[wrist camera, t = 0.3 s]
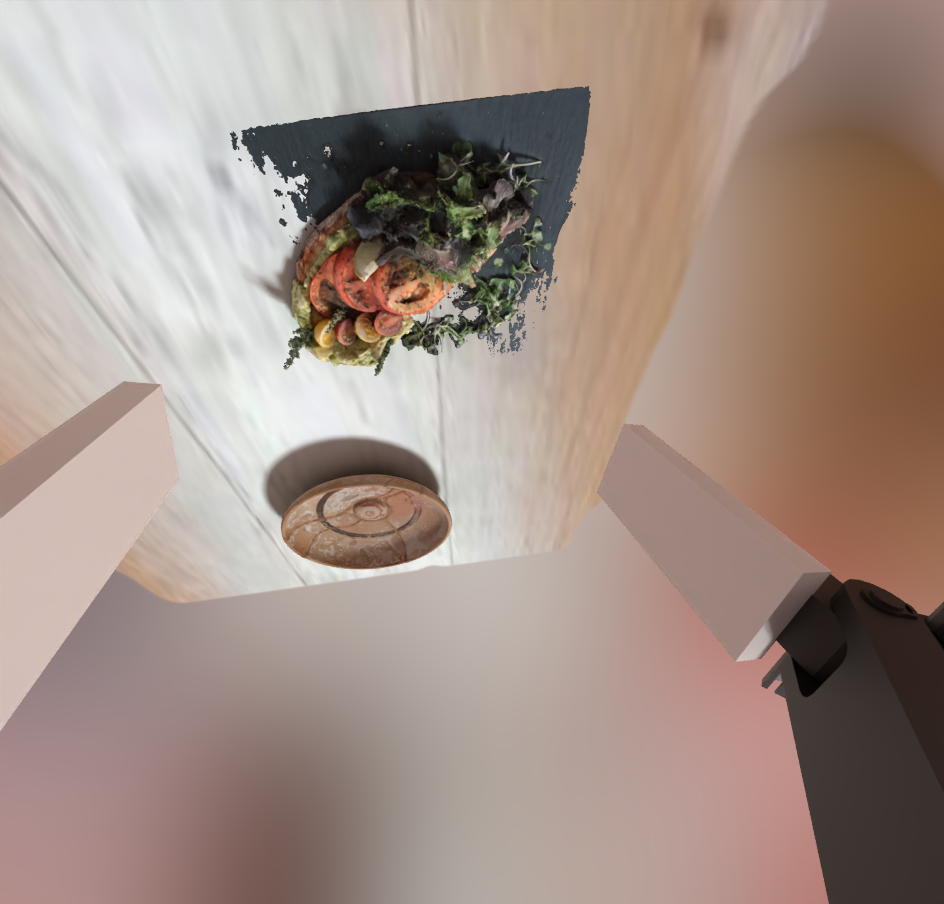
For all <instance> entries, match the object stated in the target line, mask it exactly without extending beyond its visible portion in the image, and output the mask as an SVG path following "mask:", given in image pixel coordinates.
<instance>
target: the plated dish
mask: <svg viewBox="0 0 944 904" xmlns="http://www.w3.org/2000/svg"><path fill="white" fill-rule="evenodd" d="M590 93H591V92H590V91H589V86H587V87H585V88H583V87H575V88H571V89H568V88H566V89H556V90H554V89H553V90H551V91H547V92H545V91H540V92H534V93H532V92H531V93H529V94H528V93H524V94H523V93H522V94H515V95H512V96H510V95H504V96H503V95H502V96H495V97H486V98H480V99H478V98H477V99H471V100H464V101H454V102H445V103H444V102H443V103H439V104H438V103H436V104H428V105H419V106H412V107H404V108H396V109H395V108H393V109H386V110H380V111H379V110H376V111H375V112H374V111H370V112H369V113H368V112H361V113H356V114H355V113H354V114H350V115H340V116H339V115H338V116H334V117H324V118H322V119H320V118H314V119H310V120H301V121H298V122H293V123H288V124H287V123H285V124H283V125H279V124H278V123H277V124H278V125H277V124H276V125H271V126H266V127H262V126H258V127H256V128H252V127H250V128H249V129H248V130H242V131H241V132H243V133H242V134H243V135H242V137H243V140H241V142H242V144H243V145H244V146H247V150H248V151H249V154H251V155H252V156H253V161H254V162H255V164H256V165H257V166H259V167H258V168H259V170H260V171H261V172H262V173H263V174H264V175H265V171H263V168H262V166H263V167H264V164H265V162H264V159H263V158H262V156H263V157H264V156H266V155H268V157H269V158H270V159H271V161H272V162H273V164H274V165H277V166H274V169H275V170H278V171H279V172H280V173H281V174H282V176H281V178H283V177H284V179H285V183H288V182H287V180H288V177H287V176H289V177H292V178H293V179H294V178H295V177H297V176H301V175H302V174H304V175H305V177H306V178H307V179H309V178H310V179H309V180H308V181H309V182H308V183H307V181H306V179H305V183H304V184H305V186H303V185H299V184H297V183H296V182H295V183H296V185H297V187H298V190H299V189H302V190H300V191H301V193H302V195H304V196H305V197H306V199H304V198H305V197H304V198H303V199H304V200H303V202H301V198H299V195H300V194H299V193H298V192H297V193H298V195H297V194H296V191H295V190H294V191H295V192H293V191H291V193H290V191H287V194H288V195H291V200H292V202H293V204H294V208H296V210H297V214H298V216H297V217H298V218H299V219H300V220H301V221H303V222H307V217H306V216H309V217H310V218H311V217H313V218H315V219H318V220H316V222H317V223H316V222H315V223H316V225H318V226H317V227H314V228H315V231H314V232H313V233H312V234H311V235H310V236H309V238H308V239H307V240H306V246H305V249H303V250H302V253H301V255H300V258H299V260H298V261H297V262H296V273H297V277H296V278H295V279H294V280H293V281H292V284H293V286H292V290H291V293H292V295H291V297H292V299H291V303H292V306H291V308H292V312H293V316H294V318H295V319H296V320H297V321H298V324H299V325H300V328H299V329H297V331H293V334H295V332H296V333H297V334H298V333H299V334H300V337H301V338H300V337H297V336H295V337H294V339H292V338H290V339H291V340H290V341H288V342H289V343H288V346H289V347H291V346H292V348H295V349H293V350H292V349H291V350H290V352H289V355H291V356H290V357H292V360H291V358H289V359H287V362H286V363H284V364H287V365H289V366H288V367H287V366H286V365H284V366H283V367H284V369H285V370H286V369H288V368H289V367H290V365H292V363H293V359H294V358H295V357H296V358H300V356H299V355H300V354H299V352H298V351H299V350H300V348H302V345H303V346H305V348H306V350H308V351H309V352H311V353H312V354H313V355H314V356H315V357H316V358H317V359H318V360H321V361H323V362H329V361H330V362H332V363H334V366H338V364H344V365H351V366H355V365H359V366H367V367H368V366H373V365H376V364H377V366H376V367H377V369H376V368H375V372H376V373H375V376H377V375H378V374H379V372H381V368H382V367H383V364H384V363H383V361H384V360H385V357H387V356H388V355H387V354H389V351H390V348H389V347H390V345H393V344H396V343H397V342H398V340H399V339H400V338H401V336H403V337H402V338H401V340H402V342H403V346H404V347H407V349H408V351H410V350H412V349H413V348H414V347H415V346H418V347H419V346H423V348H424V350H426V348H427V352H428V353H430V354H433V355H438V351H437V348H434V347H435V345H438V342H439V339H440V341H441V345H442V350H443V337H444V332H445V333H449V336H450V338H451V340H453V341H454V343H455V347H456V348H459V347H461V345H462V344H464V337H465V336H466V334H469V333H472V334H473V333H475V332H477V333H478V338H479V339H484V336H487V335H488V336H489V335H490V341H491V339H492V342H493V346H494V347H495V342H496V340H498V338H497V339H495V338H494V336H495V337H496V336H498V337H499V336H502V335H503V334H502V333H500V334H499V333H497V334H495V332H494V331H495V328H496V327H498V326H499V325H501V323H502V322H503V321H510V320H511V318H512V317H513V315H514V314H515V313H516V312H515V311H517V312H518V309H517V307H518V305H519V302H521V303H524V304H525V302H522V301H526V300H525V299H526V298H527V296H528V295H527V294H528V293H530V292H529V291H530V290H532V289H531V288H533V289H536V288H538V287H537V286H538V285H539V282H538V280H539V278H540V277H541V278H543V275H544V274H543V273H544V272H545V271H547V272H546V275H547V276H549V279H548V278H547V279H546V281H547V282H544V284H546V289H547V290H548V287H549V286H550V285H549V284H550V283H551V280H552V278H551V276H552V270H553V263H554V259H553V256H552V254H553V252H554V246H555V245H556V242H557V238H558V235H559V232H560V230H561V227H562V226H563V224H564V223H565V221H566V219H567V217H568V215H569V214H568V213H567V212H570V211H571V208H572V205H573V203H572V201H571V202H570V203H569V200H570V199H571V198H572V197H571V196H570V193H571V192H572V191H573V188H574V187H575V184H576V183H577V182H576V178H577V177H578V176H577V172H578V173H579V174H580V169H579V170H578V168H579V166H580V163H581V161H582V158H581V156H583V155H584V149H585V143H584V142H585V137H586V133H587V124H588V116H589V107H590V103H589V99H590V97H591V96H590ZM247 133H248V135H247ZM252 133H255V135H254V134H252ZM230 135H231V137H232V139H233V140H231V141H232V145H233V149H234V150H236V149H237V147H238V146H236V143H237V139H238V137H237V138H234V137H235V136H237V135H236V134H235V133H234V132H233V133H230ZM250 139H251V140H250ZM380 141H381V142H383V143H384V144H383V146H381V145H379V143H380ZM344 142H345V143H344ZM407 144H410V145H411V144H412V145H411V146H410V147H408V145H407ZM328 146H329V149H330V150H331V152H330V153H331V155H329V156H330V157H327V156H328V155H327V154H328V152H329V151H325V152H324V150H325V147H328ZM407 147H408V149H407ZM319 149H320V150H319ZM238 150H239V147H238ZM247 150H246V151H247ZM417 150H420V152H418V151H417ZM262 151H264V153H262ZM323 153H324V154H323ZM325 153H326V154H325ZM264 154H265V155H264ZM307 157H308V158H307ZM306 158H307V159H306ZM330 158H331V159H330ZM238 159H239V158H238ZM239 160H240V161H241V159H239ZM251 161H252V160H251ZM293 161H296V163H295V167H293V164H292V163H293ZM296 164H297V165H296ZM253 165H254V163H253ZM334 166H335V167H334ZM254 168H255V165H254ZM277 174H279V173H278V172H277ZM308 176H309V177H308ZM558 176H559V177H558ZM279 177H280V176H279ZM578 183H579V182H578ZM578 183H577V184H578ZM488 184H490V185H489V188H487V189H486V188H485V187H487V185H488ZM306 186H307V187H308V188H307V187H306ZM304 189H308V192H307V194H305V192H304ZM575 189H577V188H575ZM570 191H571V192H570ZM274 192H275V193H277V194H276V197H277V195H278V196H279V197H280V195H281V196H282V195H283V193H281V191H279V190H277V189H274ZM285 196H286V195H285ZM286 197H287V196H286ZM298 199H299V200H298ZM566 200H567V202H566ZM306 201H307V202H306ZM298 202H299V203H298ZM305 202H306V203H307V204H306V203H305ZM575 204H576V203H575ZM575 204H574V205H575ZM282 206H283V209H285V207H284V205H282ZM306 207H307V208H306ZM283 209H282V210H283ZM311 214H312V215H311ZM279 223H280V224H282V225H283V226H284V227H285V226H286V224H287V222H285V221H284V219H281V218H280V220H279ZM310 225H312V224H311V223H310ZM550 226H551V229H550ZM305 230H306V231H307V229H306V228H305ZM290 237H291V236H290ZM291 238H292V237H291ZM296 238H297V239H298V237H296ZM293 243H296V244H298V243H297V242H295V241H294V240H293ZM299 244H300V243H299ZM543 252H544V254H543ZM537 260H538V264H537ZM546 260H547V261H546ZM545 261H546V262H545ZM484 264H485V265H484ZM536 265H537V266H536ZM548 274H549V275H548ZM535 278H538V280H537V281H536V283H535V282H534V281H535ZM556 278H557V277H556ZM556 278H555V279H554V281H555V282H556V281H557V279H556ZM531 280H533V283H532V282H531ZM460 283H461V284H460ZM542 283H543V280H542V281H541V284H542ZM456 284H459V285H458V287H459V289H461V288H460V286H461V287H463V288H462V290H464V291H467V292H465V295H463V297H461V296H462V295H461V296H459V299H456V298H455V297H454V298H455V299H454V302H453V301H452V303H453V305H454V306H455V308H456V307H458V308H459V309H460V310H462V312H460V313H461V314H459V315H458V317H460V318H459V321H461V322H458V323H459V324H460V325H458V324H457V323H454V324H450V321H452V320H453V318H454V316H453V315H445V316H444V317H441V321H440V322H438V323H437V321H438V320H437V319H435V320H434V322H433V323H430V324H428V321H429V319H430V313H429V310H430V309H431V308H432V307H433V306H434V305H435V304H437V303H438V302H439V301H440V300H441V299H442V298H443V297H444V296H445V295H446V294H447V295H449V293H448V292H449V290H450V289H451V288H453V287H454V285H456ZM534 284H535V286H534ZM468 285H469V286H468ZM458 287H457V288H458ZM535 287H536V288H535ZM541 287H542V285H541V286H540V287H539V290H538V293H539V295H540V296H541V294H540V290H541ZM529 288H530V290H529ZM547 290H546V291H547ZM544 292H545V291H544ZM463 293H464V292H463ZM545 293H546V292H545ZM453 294H455V292H454V293H453ZM456 294H457V292H456ZM518 295H520V297H521V300H520V299H519V300H515V298H516V297H517V296H518ZM540 296H539V297H540ZM536 297H538V296H536ZM447 298H451V297H449V296H448V297H447ZM468 298H469V299H468ZM544 298H545V300H546V298H547V297H546V296H545V297H544ZM536 300H537V301H536V302H538V301H540V299H539V300H538V298H537V299H536ZM469 302H473V303H471V304H469ZM461 303H462V304H464V305H462V304H461ZM543 303H545V302H544V301H543ZM478 305H479V306H478ZM473 306H476V307H477V308H479V311H478V310H477V311H478V312H479V313H480V310H483V311H482V313H481V315H479V316H478V317H477V318H476V320H474V321H472V320H470V322H467V321H469V320H468V319H466V318H465V317H464V316H460V315H463V314H462V313H463V311H464V310H466V309H468V308H470V307H473ZM543 307H544V306H543ZM545 307H546V305H545ZM545 307H544V308H542V310H545ZM440 309H441V305H440ZM426 311H427V319H426V321H425V322H423V324H422V323H421V324H420V322H419V321H415V320H413V318H412V317H411V316H412V315H416V314H422V313H425V312H426ZM524 312H525V311H524ZM479 313H478V314H479ZM519 314H521V313H519ZM516 315H517V320H518V321H520V320H522V319H523V320H522V322H521V323H519V327H518V323H517V322H516V323H514V326H513V328H512V325H511V322H510V323H509V333H511V334H512V335H510V339H511V340H510V347H511V351H515V350H516V351H518V349H519V347H520V346H518V347H516V349H515V347H514V346H516V344H518V345H521V344H520V342H519V340H520V339H521V338H519V337H518V338H517V339H516V340H514V341H512V340H513V339H515V338H514V337H515V335H516V334H515V331H516V329H517V328H518V331H519V330H520V329H522V326H523V325H525V324H523V323H524V318H525V316H524V315H525V314H523V317H518V314H516ZM475 317H476V316H475ZM457 320H458V319H457ZM472 322H473V323H472ZM476 322H477V323H476ZM413 323H415V325H413ZM533 323H534V322H533ZM412 325H413V327H412V328H411V329H412V332H410V327H411V326H412ZM460 328H461V329H460ZM533 328H534V327H533ZM429 331H431V333H430V334H429ZM525 333H526V331H524V332H522V334H523V336H522V337H523V339H526V338H525V335H526V334H525ZM514 334H515V335H514ZM454 335H455V336H456V337H457V339H458V341H455V340H454V338H453V336H454ZM513 335H514V336H513ZM429 336H430V337H429ZM488 336H487V340H488V341H489V337H488ZM425 337H428V338H430V340H429V341H428V340H426V339H425ZM438 338H439V339H438ZM499 339H501V338H499ZM523 339H522V340H523ZM526 340H527V339H526ZM488 341H487V344H488ZM505 341H506V339H505ZM505 341H504V342H505ZM466 342H467V341H466ZM497 342H498V341H497ZM504 342H503V343H502V344H503V345H502V344H501V349H500V352H501V353H503V352H502V351H501V350H503V348H505V347H503V346H504V345H505V343H504ZM515 342H517V343H515ZM514 343H515V344H514ZM496 344H497V343H496ZM488 346H489V345H488ZM522 346H523V345H522ZM494 347H493V348H494ZM489 349H490V348H489ZM491 349H492V348H491ZM442 350H441V353H442ZM498 350H499V349H498ZM498 350H497V352H498ZM507 350H508V352H509V351H510V350H509V348H508V349H507ZM520 350H522V349H520ZM490 351H491V350H490ZM493 352H494V351H493ZM504 352H505V350H504ZM508 352H507V353H508ZM295 353H296V354H295ZM298 354H299V355H298ZM513 355H514V354H513ZM493 357H494V356H493ZM378 363H379V364H378ZM382 369H383V368H382Z"/></svg>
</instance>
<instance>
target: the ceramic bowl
mask: <svg viewBox="0 0 944 904" xmlns="http://www.w3.org/2000/svg"><path fill="white" fill-rule="evenodd" d="M451 526H452V520H451V515H450V512H449V510H448V508H447V506H446V504H445V503H444V502H443V501H442V499H441V498H440V497H439V496H438V495H436V494H435V493H434V492H433V491H432V490H430V489H428V488H427V487H425V486H423V485H421V484H419V483H416V482H414V481H411V480H408V479H404V478H400V477H395V476H389V475H379V474H367V475H354V476H347V477H341V478H337V479H334V480H331V481H327V482H325V483H322V484H320V485H317V486H315V487H313V488H311V489H309V490H308V491H306V492H305V493H303V494H302V495H301V496H299V497H298V498H297V499H296V500H295V501H294V502H293V503H292V504H291V505H290V506H289V507H288V509H287V510H286V512H285V514H284V516H283V519H282V523H281V531H282V537H283V539H284V541H285V543H286V544H287V545H288V547H289V548H290V549H292V550H293V551H294V552H295V553H297V554H298V555H300V556H301V557H303V558H306V559H308V560H311V561H313V562H316V563H319V564H323V565H327V566H332V567H337V568H345V569H378V568H385V567H390V566H395V565H400V564H403V563H407V562H411V561H413V560H416V559H418V558H421V557H423V556H425V555H427V554H429V553H430V552H432V551H434V550H435V549H436V548H438V547H439V546H440V545H441V544H442V543H443V542H444V541H445V540H446V538H447V537H448V535H449V533H450V531H451Z"/></svg>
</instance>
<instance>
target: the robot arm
mask: <svg viewBox="0 0 944 904" xmlns="http://www.w3.org/2000/svg"><path fill="white" fill-rule="evenodd" d="M178 480H179V477H178V472H177V466H176V461H175V455H174V450H173V444H172V439H171V433H170V428H169V423H168V417H167V412H166V406H165V401H164V395H163V390H162V385H160V384H148V383H136V382H122V383H121V384H119V385H118V386H117V387H115V388H114V389H112V390H111V391H109V392H108V393H106V394H105V395H104V396H102V397H101V398H99V399H98V400H96V401H95V402H93V403H92V404H91V405H89V406H88V407H86V408H85V409H83V410H82V411H80V412H79V413H78V414H76V415H75V416H73V417H72V418H70V419H69V420H67V421H66V422H65V423H63V424H62V425H60V426H59V427H57V428H56V429H54V430H53V431H51V432H50V433H49V434H47V435H46V436H44V437H43V438H41V439H40V440H38V441H37V442H36V443H34V444H33V445H31V446H30V447H28V448H27V449H25V450H24V451H23V452H21V453H20V454H18V455H17V456H15V457H14V458H12V459H11V460H10V461H8V462H7V463H5V464H4V465H2V466H1V467H0V731H1V729H2V728H3V726H4V725H5V724H6V722H7V721H8V719H9V718H10V717H11V715H12V714H13V712H14V711H15V710H16V708H17V707H18V705H19V704H20V702H21V701H22V700H23V698H24V697H25V695H26V694H27V693H28V691H29V690H30V688H31V687H32V686H33V684H34V683H35V681H36V680H37V679H38V677H39V676H40V674H41V673H42V671H43V670H44V669H45V667H46V666H47V664H48V663H49V662H50V660H51V659H52V657H53V656H54V655H55V653H56V652H57V650H58V649H59V647H60V646H61V645H62V643H63V642H64V640H65V639H66V638H67V636H68V635H69V633H70V632H71V630H72V629H73V628H74V626H75V625H76V623H77V622H78V621H79V619H80V618H81V617H82V615H83V614H84V612H85V611H86V610H87V608H88V607H89V605H90V604H91V602H92V601H93V600H94V598H95V597H96V595H97V594H98V593H99V591H100V590H101V588H102V587H103V586H104V584H105V583H106V581H107V580H108V578H109V577H110V576H111V574H112V573H113V571H114V570H115V569H116V567H117V566H118V564H119V563H120V562H121V560H122V559H123V557H124V556H125V555H126V553H127V552H128V550H129V549H130V548H131V546H132V545H133V543H134V542H135V540H136V539H137V538H138V536H139V535H140V533H141V532H142V531H143V529H144V528H145V526H146V525H147V524H148V522H149V521H150V519H151V518H152V517H153V515H154V514H155V512H156V511H157V510H158V508H159V507H160V505H161V504H162V502H163V501H164V500H165V498H166V497H167V495H168V494H169V493H170V491H171V490H172V488H173V487H174V486H175V484H176V483H177V481H178ZM597 493H598V494H599V495H600V496H601V498H602V499H603V500H604V501H605V503H606V504H607V505H608V506H609V507H610V508H611V510H612V511H613V512H614V514H615V515H616V516H617V517H618V518H619V519H620V521H621V522H622V523H623V525H624V526H625V527H626V528H627V529H628V531H629V532H630V533H631V534H632V536H633V537H634V538H635V539H636V540H637V542H638V543H639V544H640V545H641V547H642V548H643V549H644V550H645V551H646V553H647V554H648V555H649V556H650V558H651V559H652V560H653V561H654V562H655V564H656V565H657V566H658V567H659V568H660V570H661V571H662V572H663V573H664V575H665V576H666V577H667V578H668V579H669V581H670V582H671V583H672V584H673V586H674V587H675V588H676V589H677V590H678V592H679V593H680V594H681V595H682V596H683V598H684V599H685V600H686V602H687V603H688V604H689V605H690V606H691V608H692V609H693V610H694V611H695V612H696V614H697V615H698V616H699V617H700V619H701V620H702V621H703V622H704V624H705V625H706V626H707V627H708V629H709V630H710V631H711V632H712V633H713V635H714V636H715V637H716V638H717V639H718V641H719V642H720V643H721V644H722V646H723V647H724V648H725V649H726V650H727V651H728V653H729V654H730V655H731V657H732V658H733V659H734V660H735V661H745V660H752V659H761V658H762V657H763V656H764V654H765V653H766V652H767V651H768V650H769V649H770V647H771V646H772V645H773V644H774V642H775V641H777V642H778V643H779V644H780V645H781V646H782V647H783V648H784V649H785V650H786V652H785V653H784V654H783V655H782V657H781V658H780V659H779V660H778V661H777V663H776V664H775V665H774V666H773V667H772V668H771V670H770V671H769V672H768V673H767V675H766V676H765V677H764V678H763V680H762V687H764V688H766V689H767V688H768V687H769V686H770V685H771V684H772V682H773V681H774V680H778V681H782V683H781V684H780V686H779V687H778V688H777V689H776V690H775V693H776V694H778V695H780V696H782V697H784V698H786V702H787V706H788V711H789V716H790V721H791V725H792V730H793V735H794V740H795V744H796V749H797V754H798V759H799V763H800V768H801V773H802V778H803V782H804V787H805V791H806V797H807V801H808V806H809V810H810V815H811V820H812V825H813V830H814V835H815V839H816V844H817V849H818V854H819V858H820V863H821V868H822V872H823V877H824V882H825V887H826V891H827V896H828V901H829V904H944V602H943V603H942V604H941V605H940V606H939V607H938V608H937V609H936V610H935V611H934V612H933V613H932V614H931V615H930V616H925V615H921V614H918V613H917V612H916V611H915V610H914V608H913V607H912V606H910V605H908V604H907V603H905V602H904V601H902V600H901V599H899V598H898V597H896V596H895V595H893V594H892V593H890V592H888V591H886V590H884V589H882V588H880V587H878V586H875V585H873V584H871V583H868V582H864V581H861V580H854V579H849V580H847V581H846V582H844V583H841V582H840V581H839V580H837V579H836V578H835V577H834V576H832V575H831V574H830V573H831V572H832V571H830V570H829V569H828V568H826V567H825V566H824V565H822V564H821V563H820V562H819V561H817V560H816V559H815V558H814V557H812V556H811V555H810V554H808V553H807V552H806V551H804V550H803V549H802V548H801V547H799V546H798V545H797V544H795V543H794V542H793V541H792V540H790V539H789V538H788V537H786V536H785V535H784V534H783V533H781V532H780V531H779V530H777V529H776V528H775V527H774V526H772V525H771V524H770V523H768V522H767V521H766V520H765V519H763V518H762V517H760V516H759V515H758V514H757V513H755V512H754V511H753V510H752V509H750V508H749V507H748V506H746V505H745V504H744V503H743V502H741V501H740V500H739V499H737V498H736V497H735V496H734V495H732V494H731V493H730V492H728V491H727V490H726V489H724V488H723V487H722V486H721V485H719V484H718V483H717V482H715V481H714V480H713V479H712V478H710V477H709V476H707V475H706V474H705V473H704V472H702V471H701V470H700V469H699V468H697V467H696V466H695V465H693V464H692V463H691V462H690V461H688V460H687V459H686V458H685V457H683V456H682V455H681V454H679V453H678V452H677V451H675V450H674V449H673V448H672V447H670V446H669V445H668V444H666V443H665V442H664V441H663V440H661V439H660V438H659V437H657V436H656V435H655V434H653V433H652V432H651V431H650V430H648V429H647V428H646V427H644V426H643V425H631V424H624V425H623V427H622V430H621V432H620V435H619V437H618V440H617V442H616V445H615V447H614V450H613V452H612V455H611V457H610V460H609V463H608V465H607V468H606V470H605V473H604V475H603V478H602V480H601V483H600V485H599V488H598V490H597Z"/></svg>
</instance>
